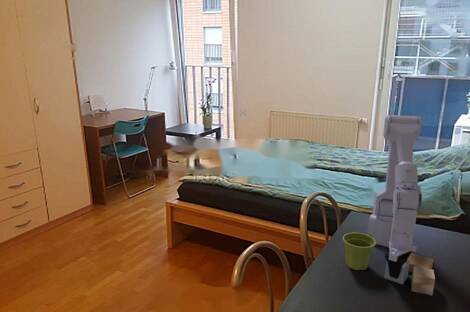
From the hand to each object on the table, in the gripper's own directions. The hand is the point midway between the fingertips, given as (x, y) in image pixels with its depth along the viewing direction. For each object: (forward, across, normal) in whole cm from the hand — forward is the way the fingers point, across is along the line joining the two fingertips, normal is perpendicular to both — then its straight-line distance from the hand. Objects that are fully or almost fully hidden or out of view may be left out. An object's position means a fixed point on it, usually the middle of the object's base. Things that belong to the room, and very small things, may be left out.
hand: (396, 272), depth 108 cm
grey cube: (+1, 0, 0) cm, 1 cm away
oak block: (+2, +9, -4) cm, 10 cm away
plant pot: (+2, -1, +11) cm, 11 cm away
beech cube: (+2, -1, -7) cm, 7 cm away
